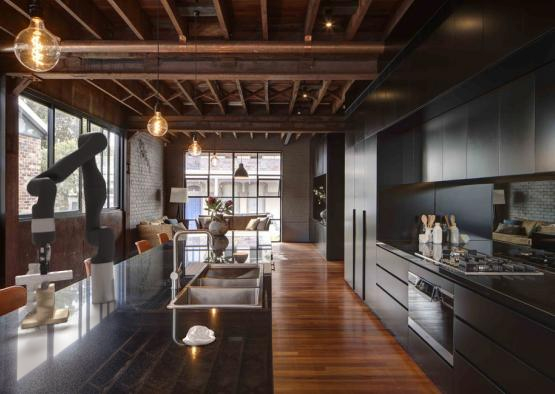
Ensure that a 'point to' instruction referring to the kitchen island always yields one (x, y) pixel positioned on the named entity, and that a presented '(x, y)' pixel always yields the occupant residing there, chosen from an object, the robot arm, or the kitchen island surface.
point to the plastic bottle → (32, 289)
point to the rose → (199, 336)
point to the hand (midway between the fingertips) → (45, 273)
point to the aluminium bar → (43, 277)
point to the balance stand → (45, 308)
